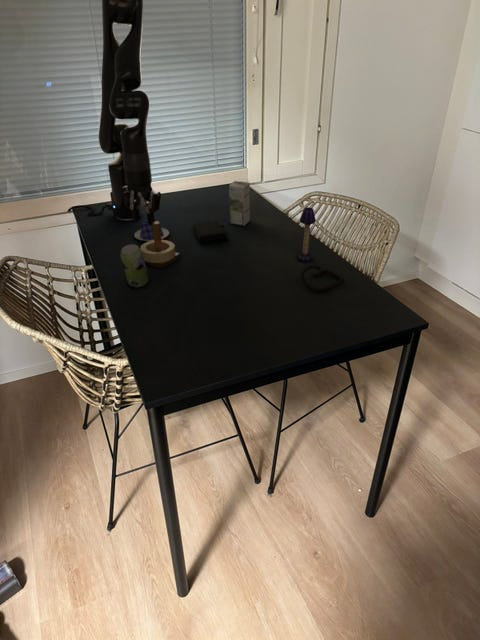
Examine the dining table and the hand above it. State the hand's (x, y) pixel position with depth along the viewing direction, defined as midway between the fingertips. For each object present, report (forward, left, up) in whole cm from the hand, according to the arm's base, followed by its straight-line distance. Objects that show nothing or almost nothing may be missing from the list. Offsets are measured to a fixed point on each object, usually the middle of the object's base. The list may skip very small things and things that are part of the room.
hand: (143, 222), depth 152 cm
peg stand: (+5, 0, -12) cm, 13 cm away
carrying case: (+9, +24, -12) cm, 28 cm away
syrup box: (+12, +39, -12) cm, 42 cm away
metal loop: (+55, +10, -12) cm, 57 cm away
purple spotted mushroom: (+45, +22, -12) cm, 51 cm away
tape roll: (+4, 0, -10) cm, 11 cm away
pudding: (-9, +14, -12) cm, 21 cm away
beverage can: (+9, -16, -12) cm, 22 cm away
